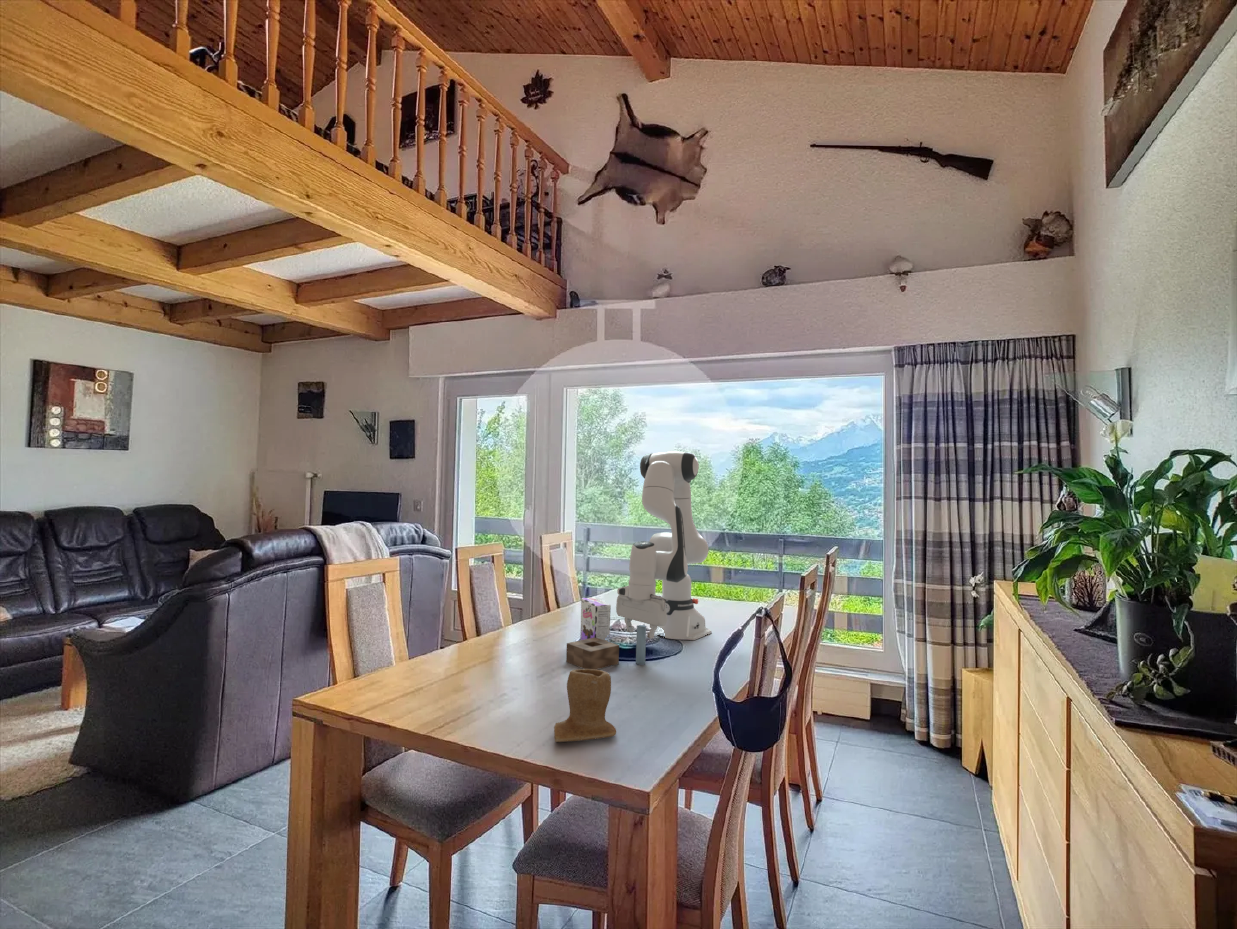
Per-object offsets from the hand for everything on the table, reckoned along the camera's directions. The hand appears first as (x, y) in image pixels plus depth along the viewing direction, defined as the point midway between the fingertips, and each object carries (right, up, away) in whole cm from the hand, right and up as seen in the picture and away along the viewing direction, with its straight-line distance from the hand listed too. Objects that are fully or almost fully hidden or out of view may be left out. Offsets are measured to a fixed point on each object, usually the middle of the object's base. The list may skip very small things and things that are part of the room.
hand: (640, 634), depth 201 cm
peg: (0, -9, 0) cm, 9 cm away
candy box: (-16, -9, +17) cm, 25 cm away
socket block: (-15, -9, -1) cm, 18 cm away
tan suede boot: (-15, -8, -56) cm, 59 cm away
